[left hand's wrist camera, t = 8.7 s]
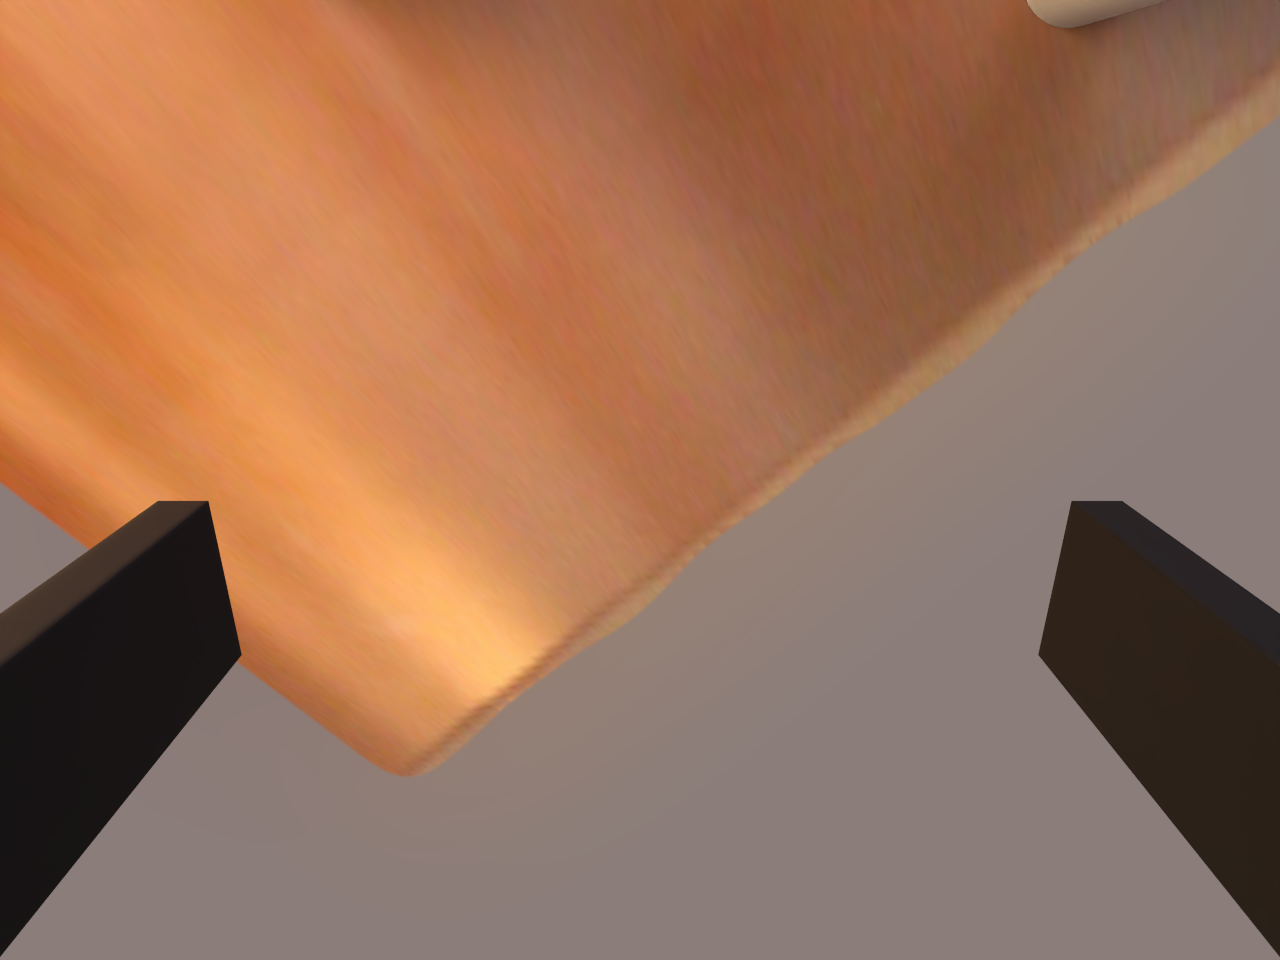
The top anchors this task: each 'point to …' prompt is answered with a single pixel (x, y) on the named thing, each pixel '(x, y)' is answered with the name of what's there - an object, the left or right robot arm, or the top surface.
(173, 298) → the top surface
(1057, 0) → the screw-top jar
